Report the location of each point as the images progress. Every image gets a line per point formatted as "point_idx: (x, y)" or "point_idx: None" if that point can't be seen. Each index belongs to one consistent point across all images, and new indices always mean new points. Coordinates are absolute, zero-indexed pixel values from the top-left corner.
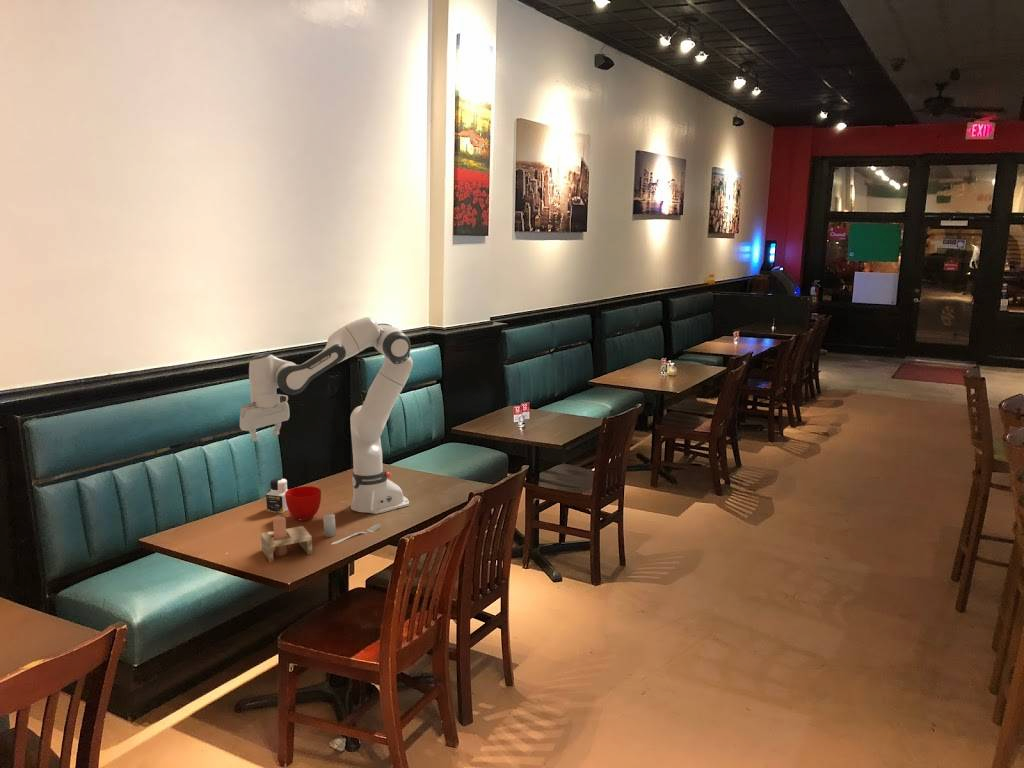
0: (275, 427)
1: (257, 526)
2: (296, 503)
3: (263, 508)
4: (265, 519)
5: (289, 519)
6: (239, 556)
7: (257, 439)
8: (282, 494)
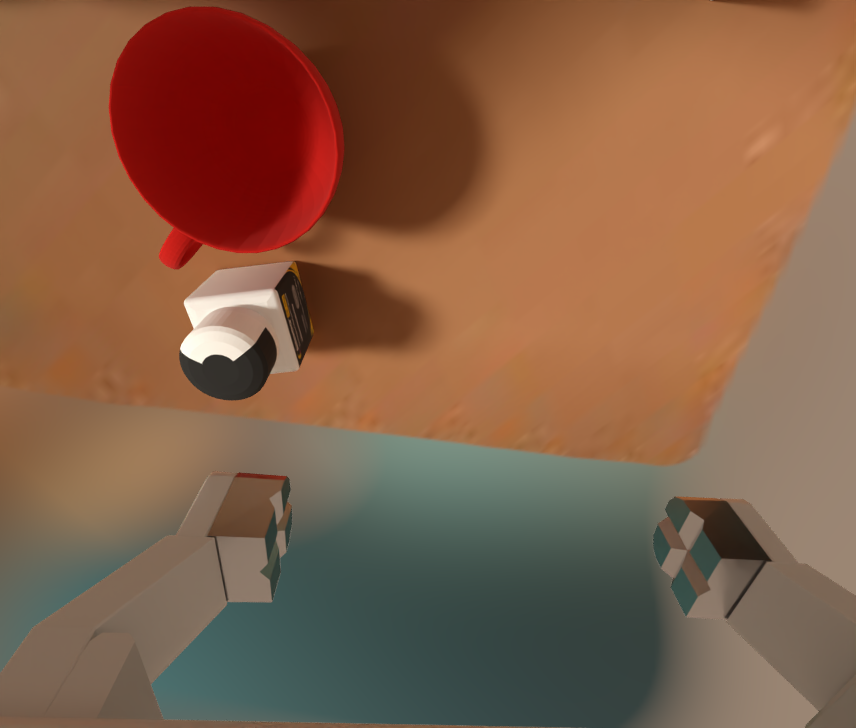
0: (185, 636)
1: (463, 248)
2: (335, 105)
3: None
4: (386, 275)
5: None
6: (794, 56)
7: (721, 509)
8: (261, 296)
